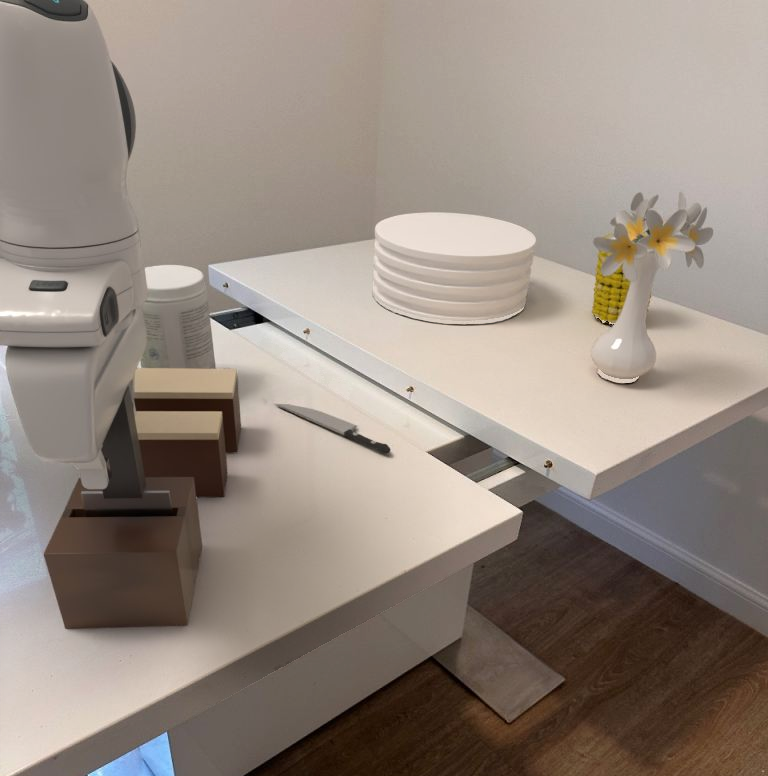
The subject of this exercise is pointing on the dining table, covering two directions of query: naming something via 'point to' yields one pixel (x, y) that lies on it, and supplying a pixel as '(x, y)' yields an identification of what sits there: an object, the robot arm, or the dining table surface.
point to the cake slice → (184, 447)
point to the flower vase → (643, 276)
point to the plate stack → (452, 265)
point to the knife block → (127, 562)
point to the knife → (125, 474)
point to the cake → (192, 395)
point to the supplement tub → (177, 319)
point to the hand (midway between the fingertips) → (112, 450)
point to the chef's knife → (334, 425)
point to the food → (610, 291)
